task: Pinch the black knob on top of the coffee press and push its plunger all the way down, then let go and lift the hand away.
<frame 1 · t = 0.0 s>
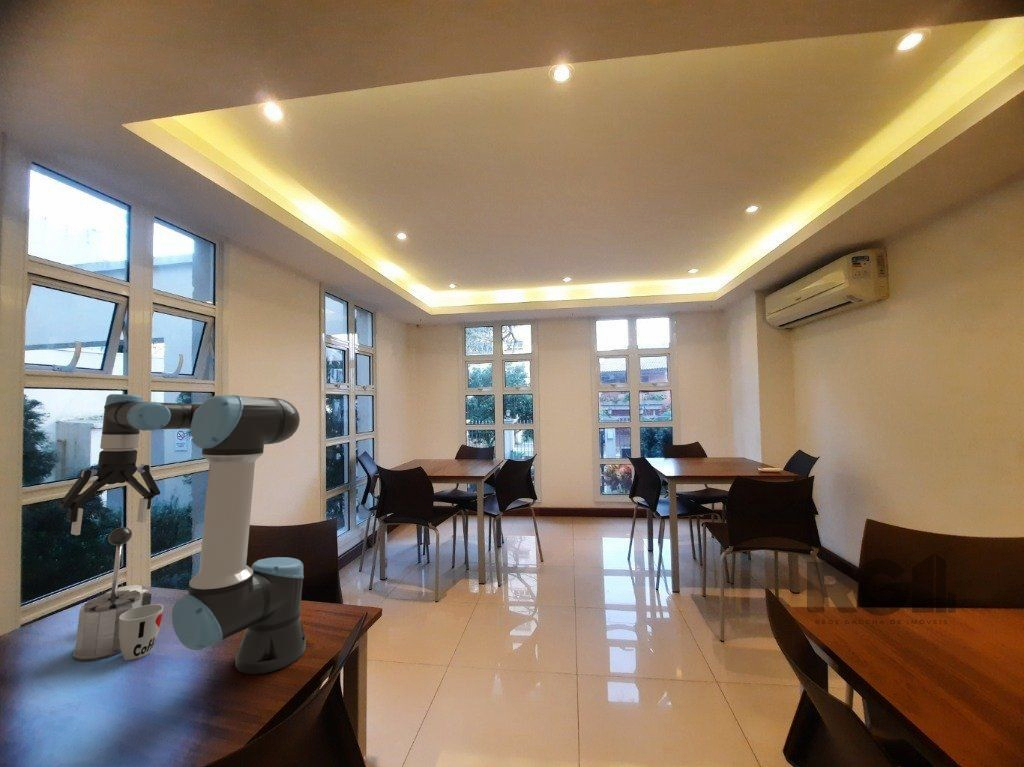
hand: (110, 527, 107), 28 cm above the table, fingers open, 13 cm apart
press: (107, 646, 100), on the table
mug: (120, 623, 110), on the table
plunger: (116, 567, 101), point 20 cm above the table, slide at 0.0 cm
cup: (137, 654, 97), on the table
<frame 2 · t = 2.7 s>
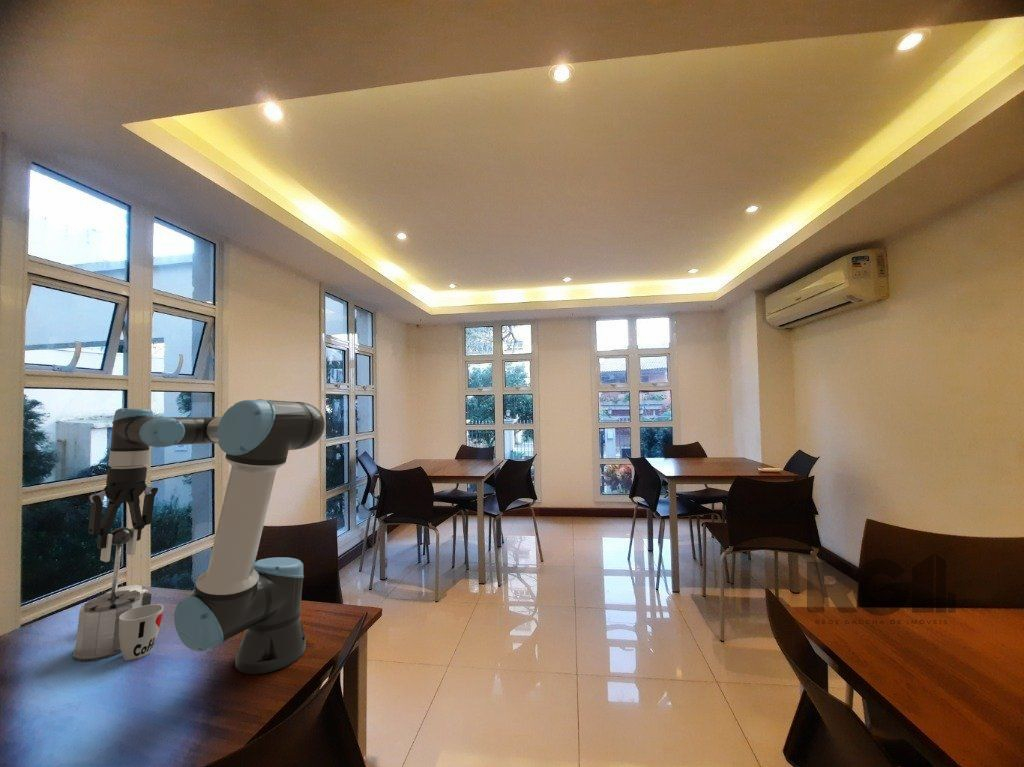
hand: (117, 557, 102), 22 cm above the table, fingers closed on plunger, 4 cm apart
plunger: (116, 567, 101), point 20 cm above the table, slide at 0.0 cm, touching gripper
everything else where it was.
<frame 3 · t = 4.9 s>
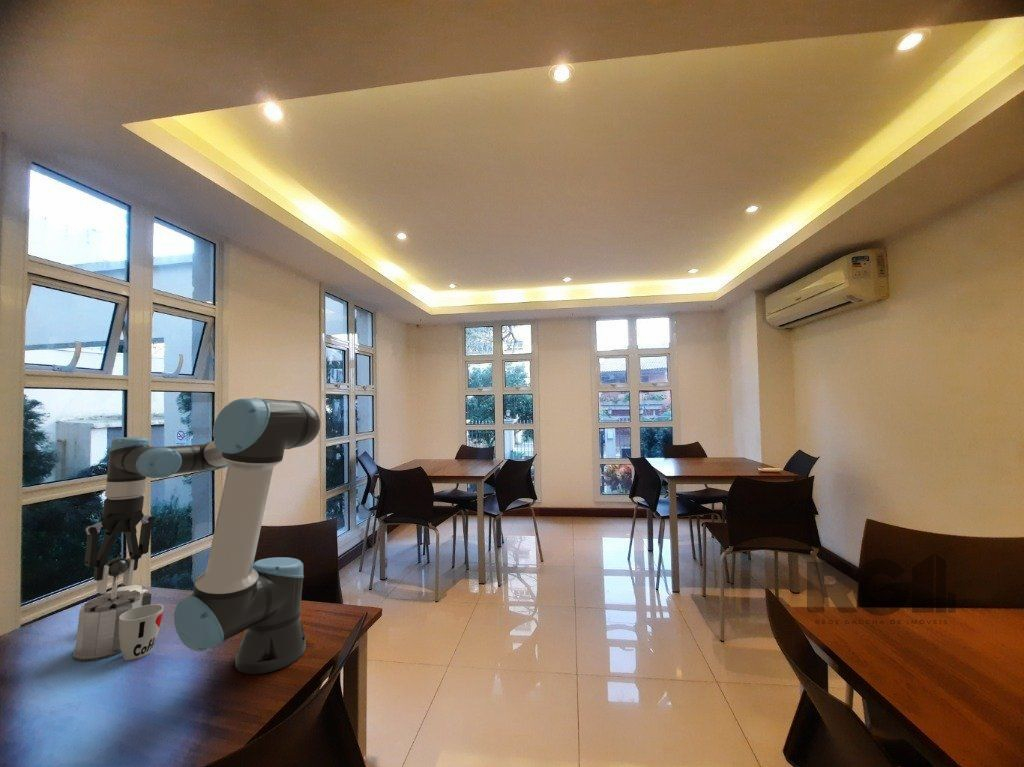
hand: (114, 588, 101), 14 cm above the table, fingers closed on plunger, 4 cm apart
plunger: (113, 598, 101), point 12 cm above the table, slide at 7.8 cm, touching gripper
everything else where it was.
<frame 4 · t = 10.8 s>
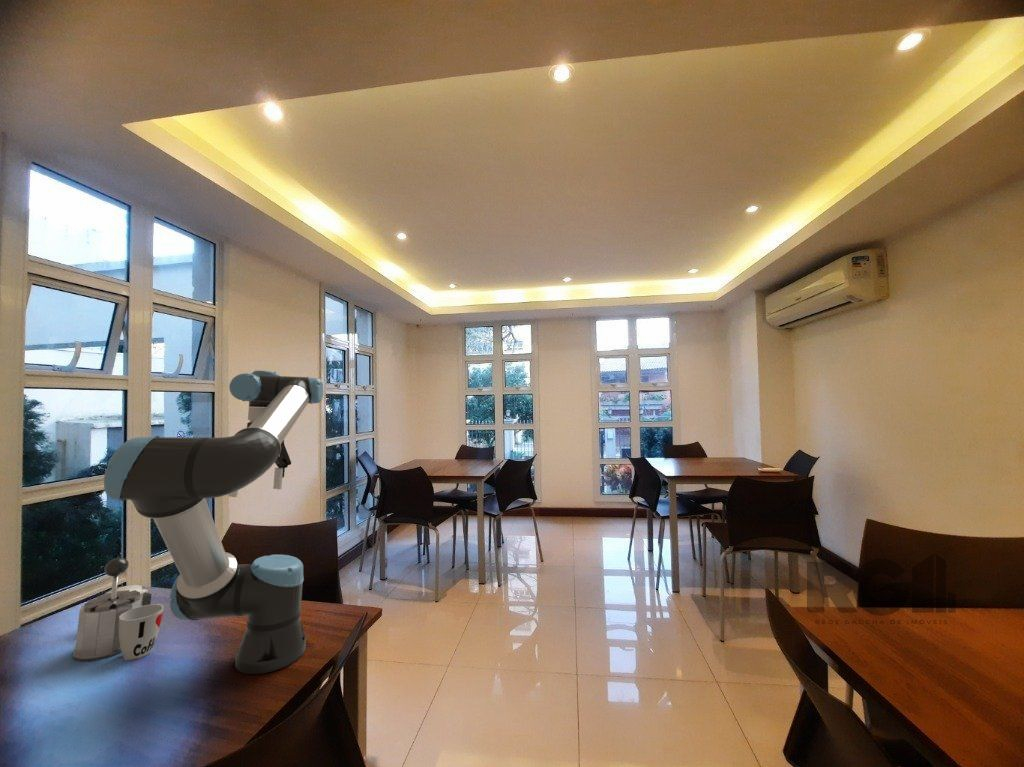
hand: (256, 492, 117), 37 cm above the table, fingers open, 13 cm apart
plunger: (113, 598, 101), point 12 cm above the table, slide at 7.8 cm
everything else where it was.
at the end: plunger slide at 7.8 cm; the gripper is holding nothing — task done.
